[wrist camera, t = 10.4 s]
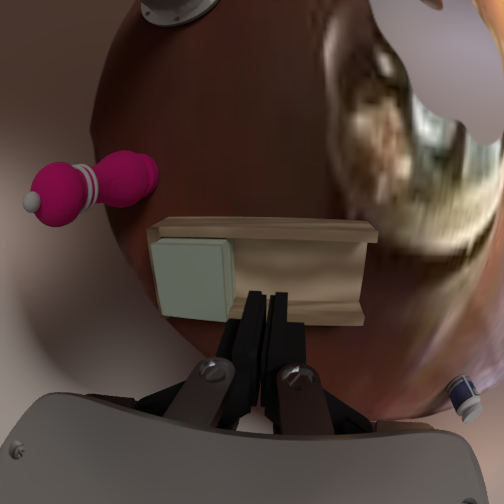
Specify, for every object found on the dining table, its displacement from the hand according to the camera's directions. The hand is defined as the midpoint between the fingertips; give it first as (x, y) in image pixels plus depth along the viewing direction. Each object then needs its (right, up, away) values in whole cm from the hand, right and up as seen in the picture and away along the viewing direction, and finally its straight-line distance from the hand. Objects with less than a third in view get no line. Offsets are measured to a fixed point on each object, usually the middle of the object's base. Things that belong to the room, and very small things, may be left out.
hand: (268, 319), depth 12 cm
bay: (+1, +2, +24) cm, 24 cm away
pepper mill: (-16, +14, +23) cm, 31 cm away
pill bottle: (+42, -24, +27) cm, 56 cm away
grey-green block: (-7, +1, +24) cm, 25 cm away
